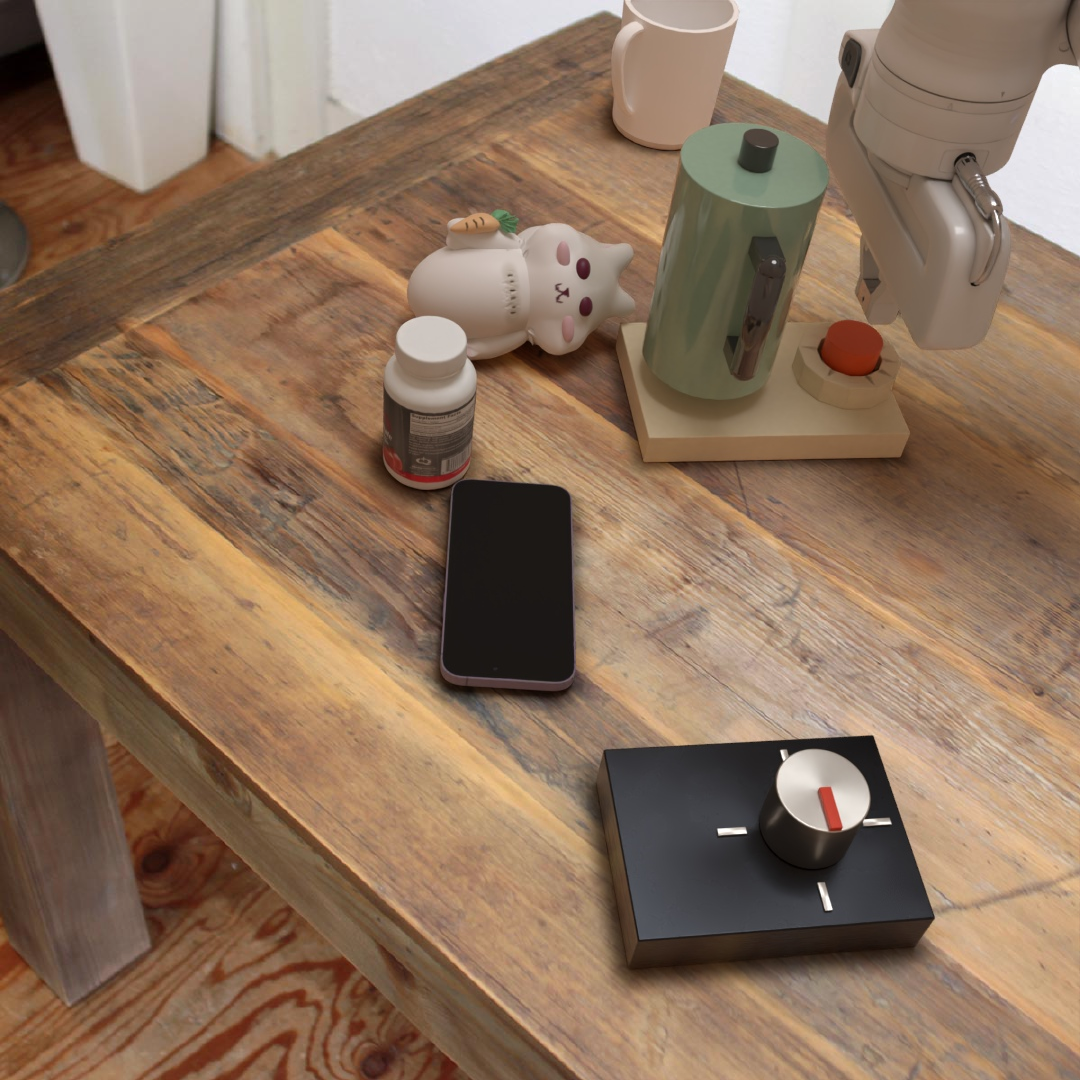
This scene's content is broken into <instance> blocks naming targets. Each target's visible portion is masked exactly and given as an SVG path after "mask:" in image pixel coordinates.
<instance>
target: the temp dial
mask: <svg viewBox="0 0 1080 1080" xmlns="http://www.w3.org/2000/svg"><path fill="white" fill-rule="evenodd" d="M870 801H871V798H870V791H869V787H868V784H867V782H866V780H865V778H864V776H863V775H862V773H861V772H860V771H859V770H858V768H857V767H856V766H855V765H853V764H852V763H851V762H850V761H849V760H847V759H846V758H844V757H842V756H840V755H838V754H836V753H834V752H831V751H827V750H822V749H806V750H801V751H798V752H796V753H794V754H792V755H790V756H789V757H787V758H786V759H785V760H784V761H783V762H782V764H781V765H780V767H779V769H778V771H777V773H776V776H775V778H774V780H773V783H772V785H771V787H770V790H769V792H768V794H767V796H766V799H765V801H764V803H763V806H762V808H761V811H760V817H759V823H760V829H761V832H762V835H763V837H764V840H765V841H766V843H767V845H768V846H769V847H770V848H771V850H772V851H773V852H774V853H775V854H776V855H778V856H779V857H780V858H781V859H783V860H785V861H786V862H788V863H790V864H792V865H795V866H798V867H801V868H807V869H819V868H825V867H828V866H831V865H833V864H835V863H836V862H838V861H839V860H840V859H841V858H842V857H843V856H844V855H845V853H846V852H847V850H848V848H849V846H850V845H851V843H852V841H853V839H854V837H855V835H856V834H857V832H858V830H859V828H860V826H861V824H862V823H863V821H864V819H865V817H866V815H867V813H868V811H869V808H870Z"/></svg>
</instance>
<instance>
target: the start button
mask: <svg viewBox="0 0 1080 1080" xmlns="http://www.w3.org/2000/svg"><path fill="white" fill-rule="evenodd" d="M834 322H835V323H834V324H832V325H831V326H830V327H829V329H828V332H827V335H826V338H825V341H824V344H823V347H822V350H821V356H822V359H823V361H824V363H825V364H826V365H827V366H828V367H830V368H831V369H832V370H834V371H837V372H840V373H842V374H845V375H848V376H864V375H867V374H869V373H871V372H872V371H873V370H874V368H875V367H876V364H877V361H878V358H879V356H880V353H881V350H882V348H883V339H882V337H883V336H882V335H881V333H880V332H879V331H878V330H877V329H876V328H875V327H873V326H872V325H871V324H869V323H865V322H863V321H861V320H860V321H859V320H855V319H842V320H838V321H834Z"/></svg>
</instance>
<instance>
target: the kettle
mask: <svg viewBox="0 0 1080 1080" xmlns="http://www.w3.org/2000/svg"><path fill="white" fill-rule="evenodd" d="M828 167H829V166H828V163H827V162H826V161H825V159H824V158H823V157H822V155H821V154H820V153H819V152H818V151H817V150H816V149H815V148H814V147H813V146H811V145H810V144H809V143H807V142H805V141H804V140H802V138H799V137H797V136H795V135H793V134H791V133H788V132H787V131H784V130H781V129H778V128H775V127H771V126H767V125H762V124H759V123H749V122H723V123H717V124H712V125H711V124H710V126H708V127H705V128H702V129H700V130H698V131H696V132H695V133H693V134H692V135H690V136H689V137H688V138H687V139H686V141H685V142H684V144H683V146H682V148H681V149H680V152H679V157H678V162H677V167H676V172H675V176H674V182H673V186H672V192H671V196H670V197H671V198H670V200H669V201H670V202H669V207H668V212H667V215H666V222H665V227H664V232H663V236H662V242H661V246H660V247H661V248H660V251H659V255H658V256H659V257H658V260H657V261H658V262H657V268H656V272H655V276H654V282H653V287H652V293H651V297H650V302H649V307H648V312H647V316H646V322H645V323H646V326H645V331H644V336H643V341H642V353H643V357H644V359H645V362H646V364H647V365H648V367H649V369H650V370H651V371H652V372H653V373H654V374H655V375H656V376H657V377H658V378H659V379H660V380H661V381H662V382H664V383H665V384H667V385H668V386H670V387H672V388H674V389H676V390H678V391H680V392H682V393H685V394H688V395H691V396H694V397H699V398H703V399H711V400H729V399H736V398H740V397H744V396H747V395H749V394H752V393H753V392H755V391H757V390H758V389H760V388H761V387H762V386H763V385H764V384H765V383H766V382H767V381H768V379H769V378H770V376H771V373H772V370H773V367H774V363H775V360H776V357H777V353H778V350H779V347H780V343H781V340H782V337H783V333H784V330H785V327H786V323H787V322H788V320H789V316H790V313H791V310H792V306H793V303H794V299H795V297H796V293H797V291H798V286H799V284H800V280H801V278H802V277H801V276H802V273H803V270H804V266H805V263H806V259H807V257H808V253H809V250H810V246H811V244H812V240H813V236H814V233H815V230H816V227H817V223H818V219H819V217H820V213H821V209H822V206H823V203H824V199H825V196H826V193H827V190H828V186H829V183H830V171H829V168H828Z"/></svg>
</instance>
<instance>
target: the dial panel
mask: <svg viewBox="0 0 1080 1080" xmlns="http://www.w3.org/2000/svg"><path fill="white" fill-rule="evenodd" d="M806 749H822V750H827V751H831V752H834V753H836V754H838V755H840V756H842V757H844V758H846V759H847V760H849V761H850V762H851V763H852V764H853V765H855V766H856V767H857V768H858V770H859V771H860V772H861V773H862V775H863V776H864V778H865V780H866V782H867V784H868V787H869V791H870V798H871V801H870V808H869V811H868V813H867V815H866V817H865V819H864V821H863V823H862V824H861V826H860V828H859V830H858V832H857V834H856V835H855V837H854V839H853V841H852V843H851V845H850V846H849V848H848V850H847V852H846V853H845V855H844V856H843V857H842V858H841V859H840V860H839V861H838V862H836V863H835V864H833V865H831V866H828V867H825V868H819V869H807V868H801V867H798V866H795V865H792V864H790V863H788V862H786V861H785V860H783V859H781V858H780V857H779V856H778V855H776V854H775V853H774V852H773V851H772V850H771V848H770V847H769V846H768V845H767V843H766V841H765V840H764V837H763V835H762V832H761V829H760V823H759V817H760V811H761V808H762V806H763V803H764V801H765V799H766V796H767V794H768V792H769V790H770V787H771V785H772V783H773V780H774V778H775V776H776V773H777V771H778V769H779V767H780V765H781V764H782V762H783V761H784V760H785V759H786V758H787V757H789V756H790V755H792V754H794V753H796V752H798V751H801V750H806ZM595 784H596V791H597V796H598V802H599V808H600V813H601V819H602V825H603V829H604V836H605V842H606V847H607V854H608V859H609V865H610V870H611V878H612V882H613V888H614V894H615V899H616V906H617V911H618V915H619V923H620V929H621V934H622V940H623V945H624V952H625V956H626V963H627V968H628V969H629V970H633V969H646V968H647V969H648V968H658V967H659V968H660V967H670V966H683V965H696V964H708V963H720V962H721V963H722V962H733V961H735V962H736V961H746V960H758V959H772V958H782V957H783V958H785V957H796V956H807V955H808V956H809V955H821V954H833V953H845V952H846V953H847V952H859V951H872V950H883V949H895V948H896V949H897V948H908V947H909V948H910V947H916V946H917V945H918V943H920V940H921V939H922V938H923V936H924V935H925V934H926V932H927V931H928V929H929V928H930V927H931V925H932V924H933V922H934V921H935V919H936V916H935V913H934V910H933V907H932V904H931V902H930V898H929V895H928V893H927V889H926V887H925V884H924V883H925V882H924V881H923V878H922V875H921V871H920V869H919V865H918V863H917V860H916V857H915V854H914V851H913V848H912V845H911V842H910V839H909V836H908V833H907V830H906V827H905V825H904V822H903V818H902V816H901V812H900V809H899V807H898V804H897V801H896V798H895V795H894V792H893V789H892V786H891V783H890V780H889V776H888V775H887V771H886V768H885V765H884V761H883V759H882V756H881V754H880V751H879V748H878V744H877V741H876V739H875V736H874V735H873V734H869V735H850V736H848V735H847V736H831V737H830V736H828V737H815V738H814V737H812V738H792V739H773V740H758V741H757V740H755V741H737V742H720V743H717V742H716V743H699V744H683V745H680V744H679V745H665V746H663V745H662V746H646V747H628V748H627V747H626V748H610V749H603V752H602V755H601V759H600V764H599V768H598V772H597V776H596V780H595Z"/></svg>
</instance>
